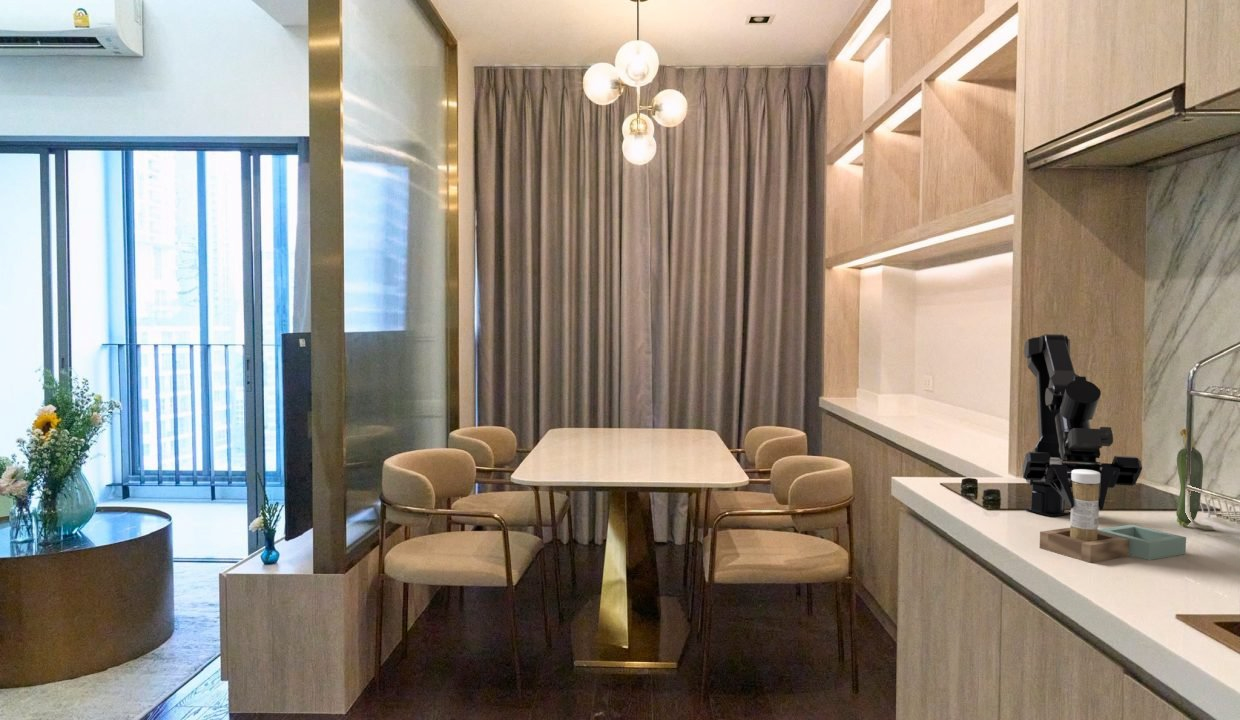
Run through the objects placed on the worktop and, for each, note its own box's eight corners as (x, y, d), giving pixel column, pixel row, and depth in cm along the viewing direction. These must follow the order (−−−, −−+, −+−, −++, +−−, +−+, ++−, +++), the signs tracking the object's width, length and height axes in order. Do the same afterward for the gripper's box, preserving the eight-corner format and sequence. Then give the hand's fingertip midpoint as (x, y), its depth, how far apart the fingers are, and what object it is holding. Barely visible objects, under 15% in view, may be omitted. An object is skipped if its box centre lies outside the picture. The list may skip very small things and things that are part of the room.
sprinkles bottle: (1078, 540, 153) (1081, 467, 152) (1103, 546, 149) (1106, 471, 148) (1063, 543, 151) (1065, 469, 150) (1088, 549, 147) (1090, 474, 146)
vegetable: (1199, 526, 169) (1203, 428, 168) (1201, 531, 165) (1205, 430, 164) (1173, 523, 171) (1177, 426, 170) (1174, 528, 168) (1178, 429, 167)
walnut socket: (1077, 542, 157) (1077, 526, 156) (1128, 556, 147) (1129, 539, 147) (1039, 547, 152) (1040, 531, 152) (1090, 562, 143) (1090, 545, 143)
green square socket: (1131, 540, 158) (1131, 524, 158) (1185, 553, 149) (1186, 537, 149) (1095, 545, 154) (1096, 529, 154) (1149, 560, 145) (1149, 543, 145)
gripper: (1027, 408, 155) (1036, 478, 145) (1141, 412, 150) (1158, 485, 140) (1018, 444, 163) (1026, 513, 153) (1126, 449, 158) (1142, 520, 148)
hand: (1086, 507), depth 148 cm, fingers closed on sprinkles bottle, 4 cm apart
